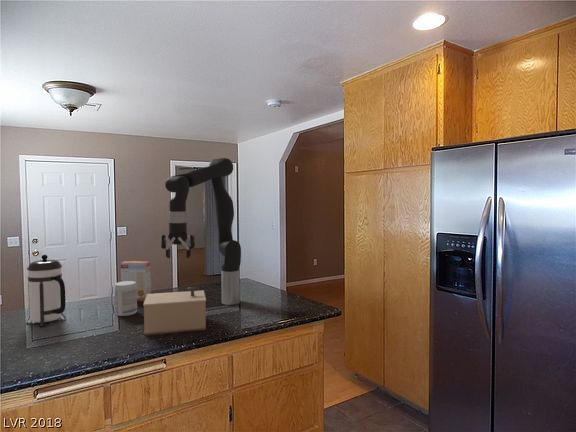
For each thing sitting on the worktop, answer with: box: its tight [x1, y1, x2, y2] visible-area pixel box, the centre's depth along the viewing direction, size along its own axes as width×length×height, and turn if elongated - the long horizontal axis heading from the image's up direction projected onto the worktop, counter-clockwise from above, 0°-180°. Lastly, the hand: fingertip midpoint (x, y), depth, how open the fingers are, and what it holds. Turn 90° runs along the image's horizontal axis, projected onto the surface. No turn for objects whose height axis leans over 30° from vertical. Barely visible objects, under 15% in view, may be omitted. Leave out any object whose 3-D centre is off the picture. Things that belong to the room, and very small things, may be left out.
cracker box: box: [120, 260, 152, 303], centre depth 198 cm, size 14×6×21 cm, turn 84°
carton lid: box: [142, 286, 207, 307], centre depth 158 cm, size 24×16×4 cm
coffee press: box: [25, 254, 67, 328], centre depth 163 cm, size 17×16×30 cm
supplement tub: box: [114, 281, 138, 317], centre depth 175 cm, size 10×10×15 cm
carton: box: [143, 301, 207, 336], centre depth 159 cm, size 24×16×12 cm, turn 106°
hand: (178, 258), depth 164 cm, fingers open, 8 cm apart
